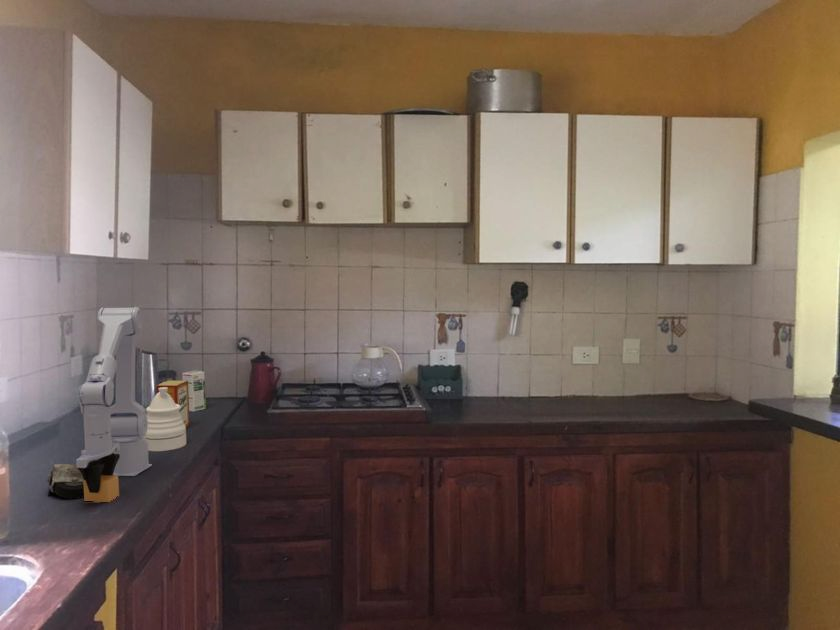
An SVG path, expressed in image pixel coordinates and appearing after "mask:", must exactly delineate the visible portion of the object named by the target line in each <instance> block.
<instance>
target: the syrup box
mask: <svg viewBox="0 0 840 630" xmlns="http://www.w3.org/2000/svg"><path fill="white" fill-rule="evenodd" d="M182 380H188V395H189V412H198V411H202V410H206V409H207V401H206V380H205V371H203V370H192V371H186V372H182Z"/></svg>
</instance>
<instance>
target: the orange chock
mask: <svg viewBox="0 0 840 630" xmlns="http://www.w3.org/2000/svg"><path fill="white" fill-rule="evenodd" d="M119 481H120V480H119V476H114V475H111V476H109V475H101V482H100V490H99V492H98V493H90V492H89V489H88V486H87V483H86V481H83V484H84V497H83V498H84V499H83V501H94V502H93V503H100V502H109V503H110V501H111V500H112V501H114V500H115V499H117V498H118V497H120V486H119V483H120V482H119ZM117 496H118V497H117ZM116 497H117V498H116ZM113 499H114V500H113ZM112 501H111V502H112Z"/></svg>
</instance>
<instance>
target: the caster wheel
mask: <svg viewBox="0 0 840 630" xmlns="http://www.w3.org/2000/svg"><path fill="white" fill-rule="evenodd" d="M50 463H51V464H50V470H49V471H50V472H49V473H48V474H47V475H46V476H47V478H46V482H47V483H48V489H47V494H49V493H50V490H51V492H52V493H55V494H56V496H58V497H60V498H64V499H71V500H73V499H72V498H75V499H79V498H78V497H81V498H83V497H82V496H84V484H83V481H85V478H84V476H83V475H82V473H81V472H80V471H79V469H78V468H77V467H76V464H74V463H72V464H67V463H66V464H63V463H61V464H60V463H59V464H57V463H56V464H55V463H54V464H53V462H50ZM52 466H53V468H52Z"/></svg>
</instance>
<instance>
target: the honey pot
mask: <svg viewBox="0 0 840 630" xmlns="http://www.w3.org/2000/svg"><path fill="white" fill-rule="evenodd" d="M167 390H168V388H167V387H161V388H159V393H157V392H156V394H155V395H154V397H153V398H152V400H151V401H150V404H149V406H147V407H145V409H146V416H147V421H148V428H147V433H146V435H145V436H144V438H145V439H146V440H147V443H148V452H149V451H150V452H164V451H165V452H166V451H171V450H176V449H181V448H182V447H184V446H186V445H187V430H186V429H187V428H186V427H185V425H184V423H183V420H182V416H181V415H180V413H179V410H180V409H181V406H180V405H178V404H175V402H174V400H173V399H172V397H171V396H170V395H169V394H168V393H167Z"/></svg>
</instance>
